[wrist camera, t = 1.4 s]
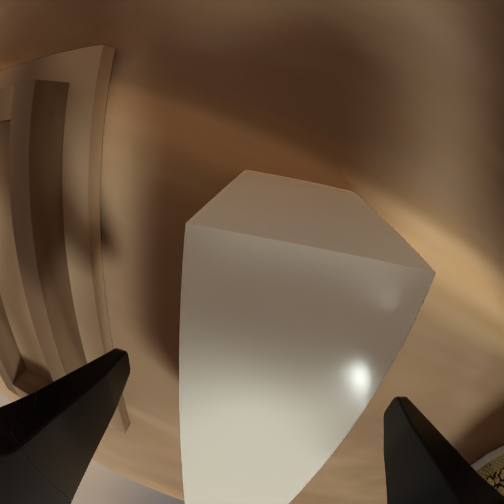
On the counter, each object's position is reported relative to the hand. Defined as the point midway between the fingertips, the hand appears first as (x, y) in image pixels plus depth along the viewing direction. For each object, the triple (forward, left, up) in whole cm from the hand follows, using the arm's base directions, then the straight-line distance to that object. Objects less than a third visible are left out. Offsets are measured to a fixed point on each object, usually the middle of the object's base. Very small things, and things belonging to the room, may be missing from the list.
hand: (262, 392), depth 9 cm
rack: (+12, 0, -3) cm, 12 cm away
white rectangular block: (0, 0, -3) cm, 3 cm away
